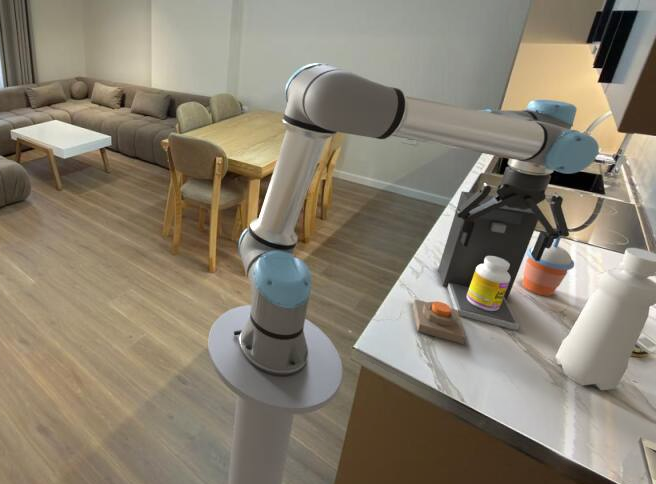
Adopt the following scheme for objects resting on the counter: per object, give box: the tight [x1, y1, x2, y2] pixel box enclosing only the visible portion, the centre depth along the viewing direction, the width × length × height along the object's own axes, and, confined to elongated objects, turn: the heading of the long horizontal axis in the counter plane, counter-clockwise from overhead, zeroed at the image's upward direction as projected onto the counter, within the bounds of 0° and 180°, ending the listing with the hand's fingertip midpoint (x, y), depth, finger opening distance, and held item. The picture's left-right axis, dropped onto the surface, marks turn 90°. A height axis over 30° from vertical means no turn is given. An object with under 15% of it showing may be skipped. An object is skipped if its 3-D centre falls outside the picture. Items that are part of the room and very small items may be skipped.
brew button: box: [431, 301, 452, 317], centre depth 95 cm, size 4×4×2 cm
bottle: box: [555, 247, 656, 391], centre depth 77 cm, size 9×9×30 cm
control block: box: [412, 298, 467, 345], centre depth 96 cm, size 9×10×4 cm
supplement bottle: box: [467, 256, 511, 311], centre depth 99 cm, size 7×7×13 cm
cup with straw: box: [521, 236, 575, 297], centre depth 105 cm, size 9×9×18 cm
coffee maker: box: [437, 191, 539, 331], centre depth 101 cm, size 14×20×26 cm
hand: (498, 250), depth 95 cm, fingers open, 13 cm apart
